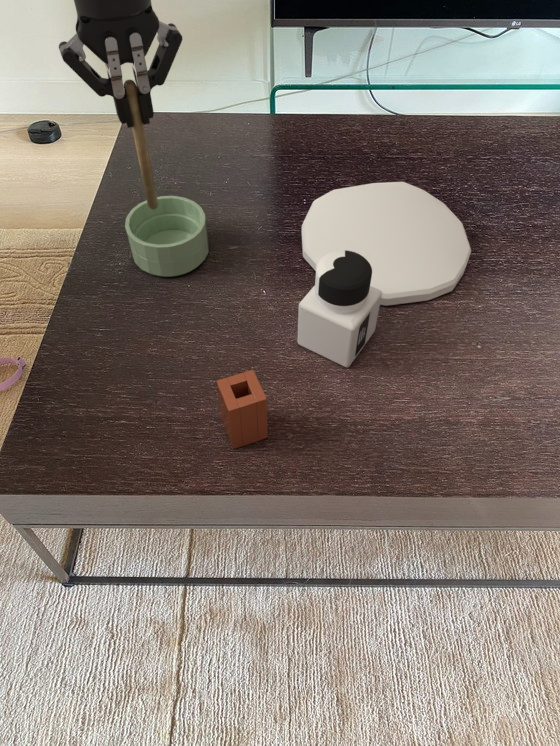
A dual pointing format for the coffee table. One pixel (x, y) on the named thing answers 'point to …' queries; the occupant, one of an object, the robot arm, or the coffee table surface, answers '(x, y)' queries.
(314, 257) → the decorative plate
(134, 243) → the bowl
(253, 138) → the coffee table surface
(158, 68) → the robot arm
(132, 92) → the cooking stick
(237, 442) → the utensil block
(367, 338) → the container
